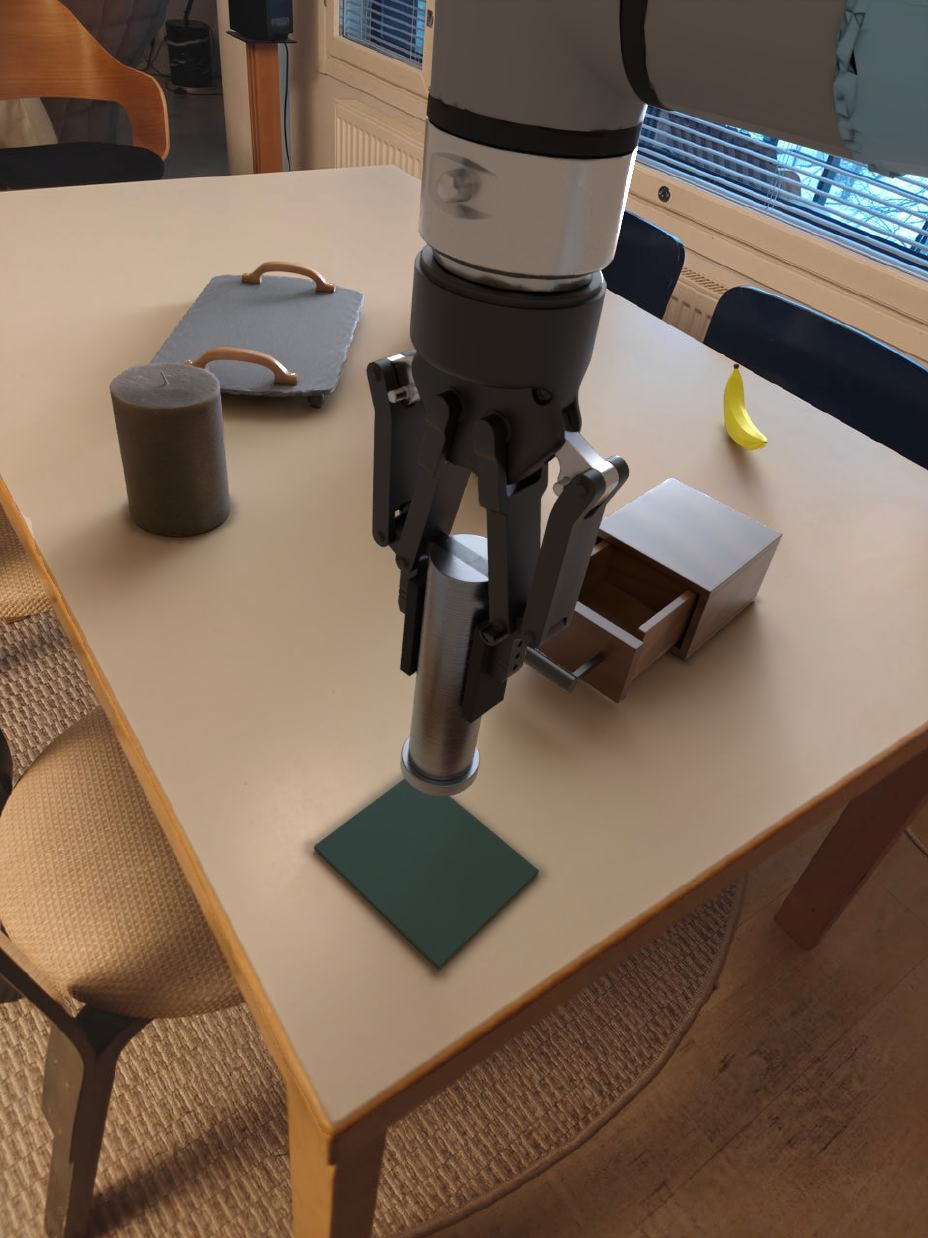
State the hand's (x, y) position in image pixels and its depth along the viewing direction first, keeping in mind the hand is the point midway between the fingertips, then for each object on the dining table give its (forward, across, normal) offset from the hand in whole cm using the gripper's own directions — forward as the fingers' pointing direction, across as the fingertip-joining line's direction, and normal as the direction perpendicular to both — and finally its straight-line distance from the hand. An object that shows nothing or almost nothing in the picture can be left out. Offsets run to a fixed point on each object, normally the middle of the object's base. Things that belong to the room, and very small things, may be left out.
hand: (451, 683), depth 48 cm
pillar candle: (+18, -46, +11) cm, 50 cm away
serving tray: (+18, -72, +42) cm, 85 cm away
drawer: (+17, -5, +26) cm, 31 cm away
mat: (+17, 0, 0) cm, 17 cm away
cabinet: (+17, -5, +39) cm, 43 cm away
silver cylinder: (+7, 0, 0) cm, 7 cm away
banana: (+18, -17, +75) cm, 79 cm away
